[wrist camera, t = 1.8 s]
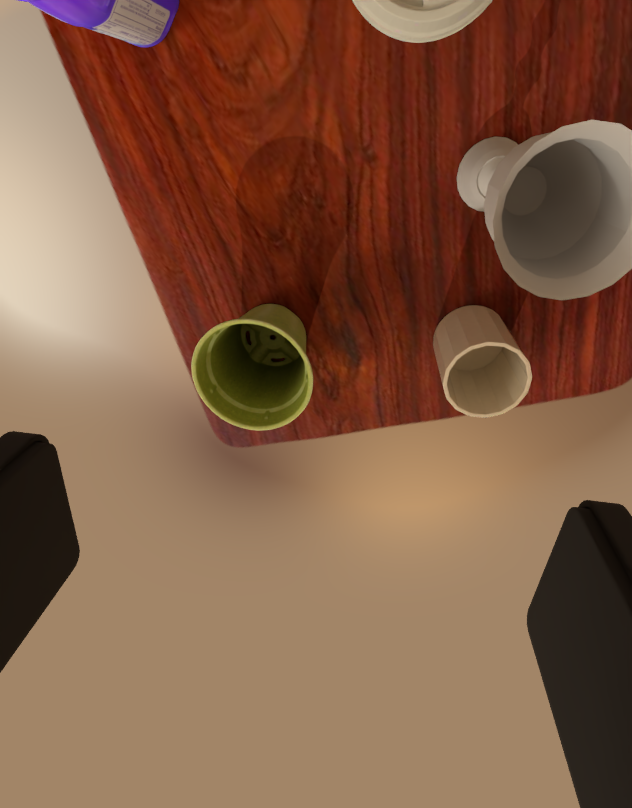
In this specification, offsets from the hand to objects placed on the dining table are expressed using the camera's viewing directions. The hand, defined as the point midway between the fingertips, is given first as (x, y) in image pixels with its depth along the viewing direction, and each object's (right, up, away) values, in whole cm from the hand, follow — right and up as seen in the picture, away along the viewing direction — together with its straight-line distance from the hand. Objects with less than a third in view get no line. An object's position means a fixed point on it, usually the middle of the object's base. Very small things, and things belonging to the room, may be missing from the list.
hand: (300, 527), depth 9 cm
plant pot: (-4, +9, +36) cm, 37 cm away
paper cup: (+14, +8, +34) cm, 37 cm away
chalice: (+13, +19, +28) cm, 36 cm away
